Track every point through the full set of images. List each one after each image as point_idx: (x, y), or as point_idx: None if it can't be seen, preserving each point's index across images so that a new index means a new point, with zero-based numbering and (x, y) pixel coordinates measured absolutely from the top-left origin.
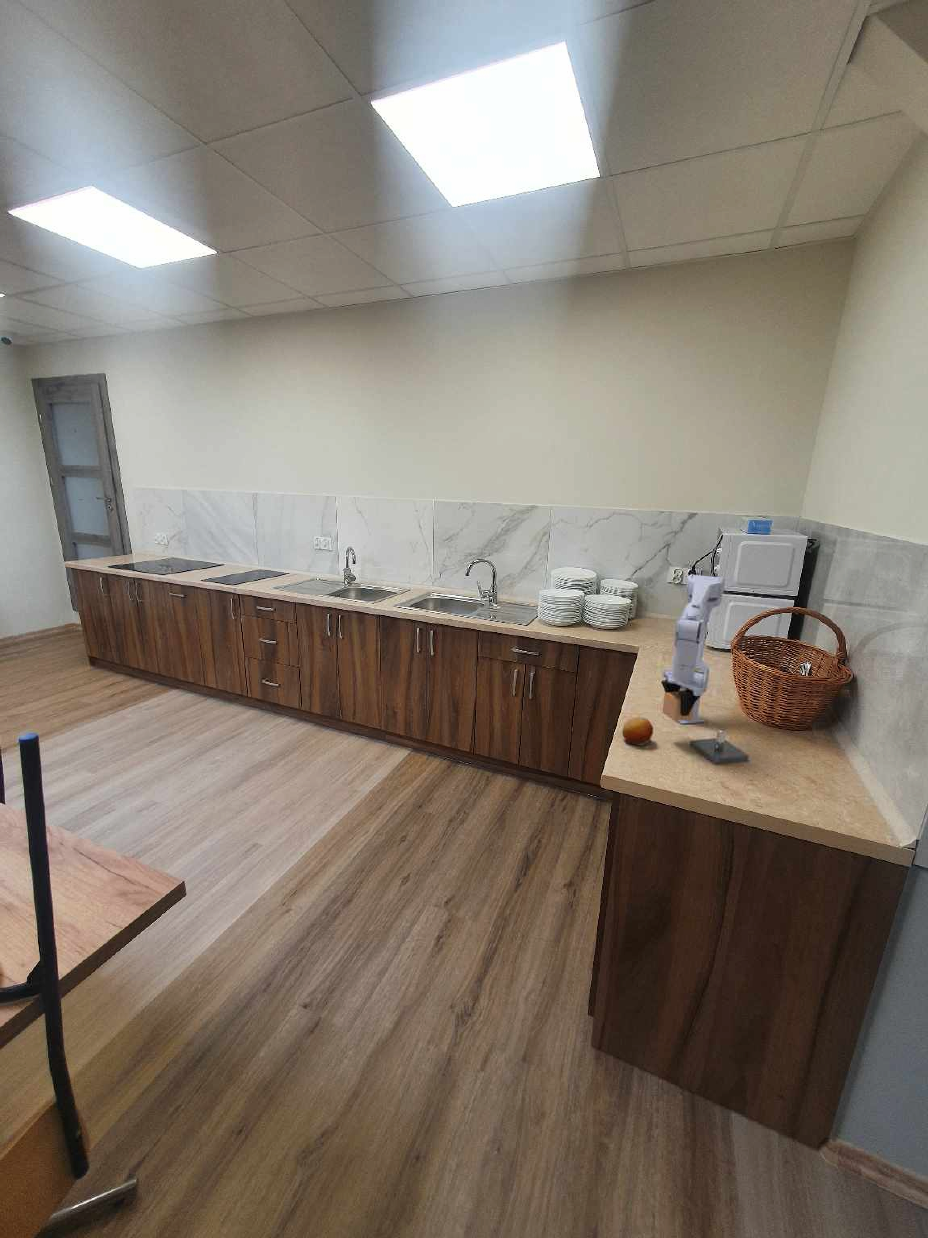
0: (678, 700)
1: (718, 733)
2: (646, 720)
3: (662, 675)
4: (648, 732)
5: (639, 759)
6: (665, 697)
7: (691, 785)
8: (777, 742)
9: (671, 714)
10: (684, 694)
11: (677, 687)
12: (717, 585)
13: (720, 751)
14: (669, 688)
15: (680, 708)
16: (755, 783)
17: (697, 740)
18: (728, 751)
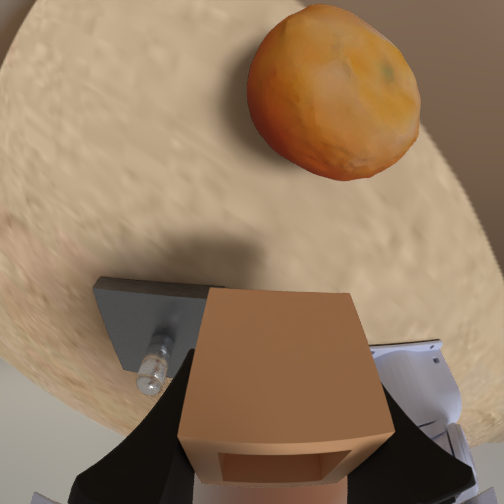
0: (181, 437)
1: (144, 377)
2: (319, 123)
3: (492, 494)
4: (250, 100)
5: (160, 17)
6: (369, 395)
7: (9, 132)
8: None
9: (249, 311)
10: (73, 499)
11: (356, 498)
12: None
13: (139, 331)
14: (386, 477)
15: None
16: (36, 297)
17: None
18: (140, 348)
